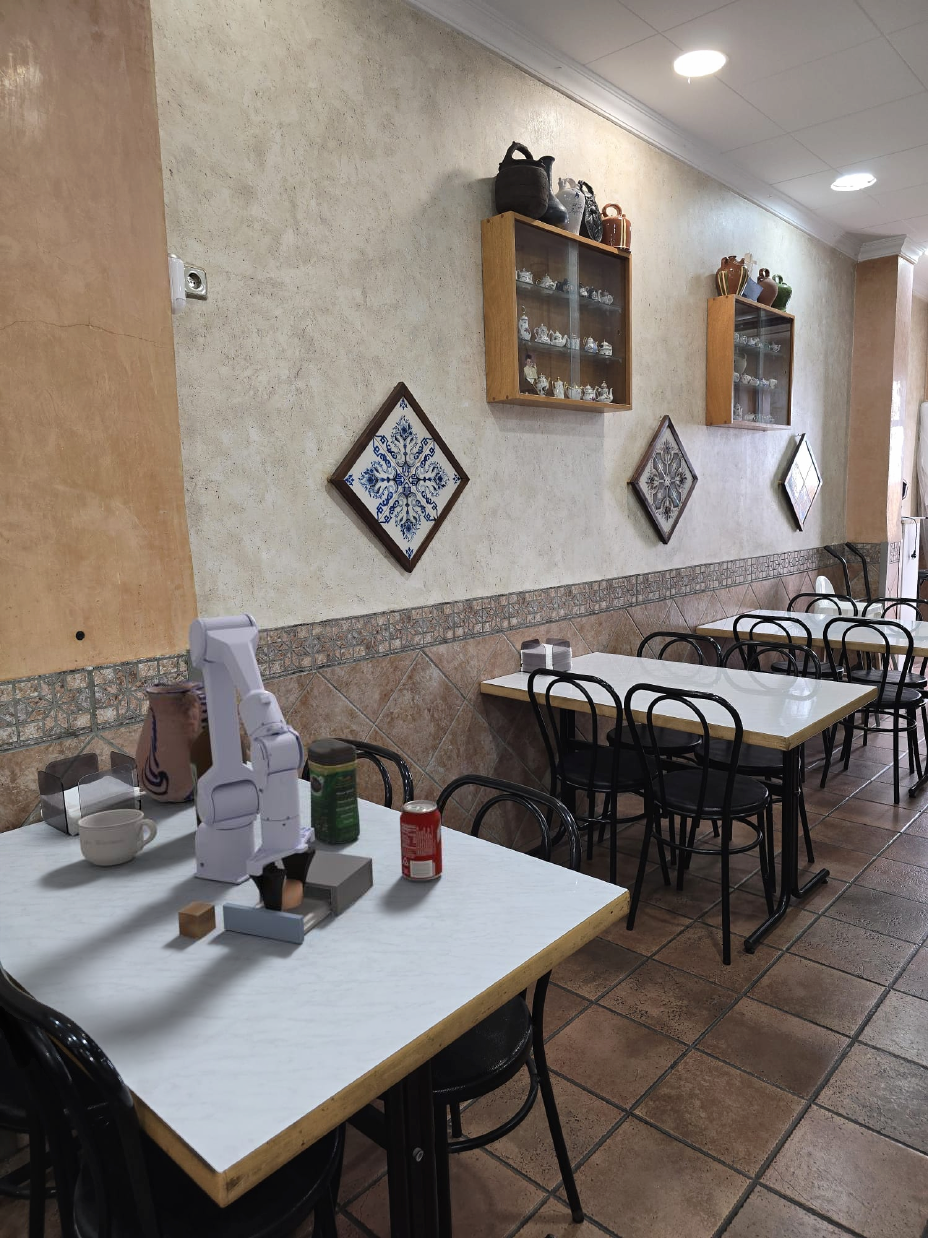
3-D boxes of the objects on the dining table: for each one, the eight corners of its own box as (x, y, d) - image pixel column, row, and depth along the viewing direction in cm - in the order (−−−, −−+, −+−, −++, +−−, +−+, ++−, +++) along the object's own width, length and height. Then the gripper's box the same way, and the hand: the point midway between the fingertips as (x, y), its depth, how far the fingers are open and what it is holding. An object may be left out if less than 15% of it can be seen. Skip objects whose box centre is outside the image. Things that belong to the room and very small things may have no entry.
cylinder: (258, 907, 120) (257, 891, 120) (278, 892, 125) (277, 877, 125) (290, 911, 119) (290, 895, 118) (309, 896, 124) (309, 881, 123)
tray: (224, 929, 120) (222, 905, 119) (268, 897, 130) (267, 875, 129) (300, 943, 115) (299, 919, 114) (340, 909, 125) (339, 886, 125)
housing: (259, 902, 128) (258, 874, 128) (299, 874, 139) (298, 847, 138) (337, 916, 123) (336, 886, 123) (373, 885, 134) (372, 858, 133)
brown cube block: (179, 935, 119) (177, 912, 118) (196, 924, 122) (194, 901, 122) (199, 939, 117) (198, 915, 117) (216, 927, 121) (214, 904, 120)
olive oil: (251, 818, 167) (244, 697, 164) (250, 837, 156) (243, 707, 154) (196, 824, 164) (188, 700, 162) (191, 843, 154) (183, 712, 151)
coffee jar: (367, 838, 154) (363, 741, 152) (329, 849, 149) (325, 749, 147) (341, 824, 162) (337, 732, 160) (304, 834, 157) (300, 739, 155)
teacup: (67, 867, 144) (63, 823, 144) (114, 844, 154) (111, 803, 154) (128, 878, 139) (125, 832, 138) (173, 854, 149) (170, 811, 148)
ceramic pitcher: (183, 780, 194) (177, 675, 191) (249, 792, 183) (243, 682, 181) (119, 802, 179) (111, 689, 176) (186, 817, 168) (179, 697, 166)
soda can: (437, 885, 133) (435, 813, 132) (396, 883, 134) (394, 811, 133) (446, 868, 139) (444, 800, 138) (408, 866, 141) (405, 798, 140)
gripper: (274, 834, 113) (279, 929, 114) (329, 802, 126) (334, 887, 127) (231, 829, 115) (237, 922, 117) (290, 798, 129) (295, 882, 130)
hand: (285, 904), depth 122 cm, fingers closed on cylinder, 5 cm apart
